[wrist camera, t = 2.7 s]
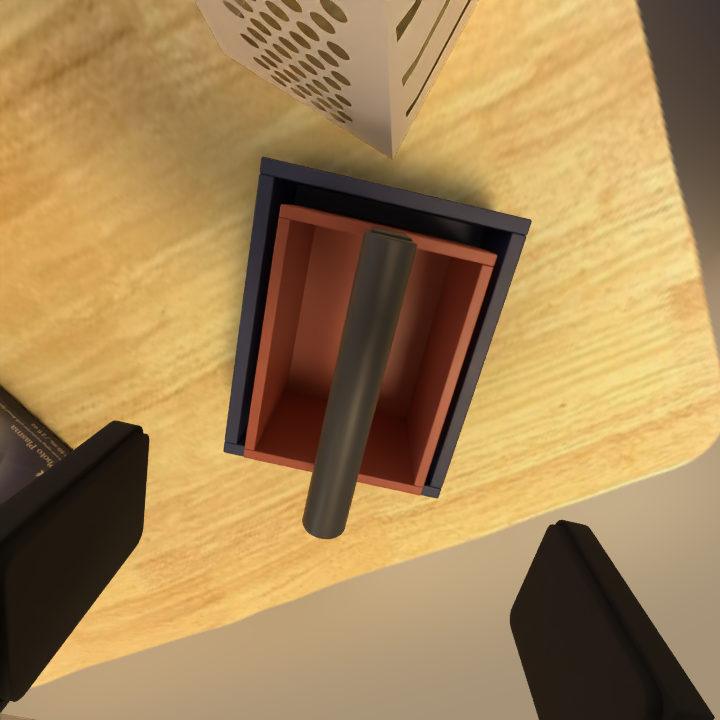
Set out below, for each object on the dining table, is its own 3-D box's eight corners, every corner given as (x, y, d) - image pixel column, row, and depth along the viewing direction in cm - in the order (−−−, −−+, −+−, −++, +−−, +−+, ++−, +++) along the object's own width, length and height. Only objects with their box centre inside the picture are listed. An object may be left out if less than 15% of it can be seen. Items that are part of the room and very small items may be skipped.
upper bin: (311, 206, 25) (248, 201, 13) (462, 241, 25) (534, 268, 13) (279, 392, 29) (208, 517, 17) (410, 421, 29) (430, 564, 17)
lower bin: (289, 169, 25) (261, 156, 19) (498, 218, 25) (532, 220, 19) (253, 405, 30) (222, 452, 24) (427, 444, 30) (438, 499, 24)
